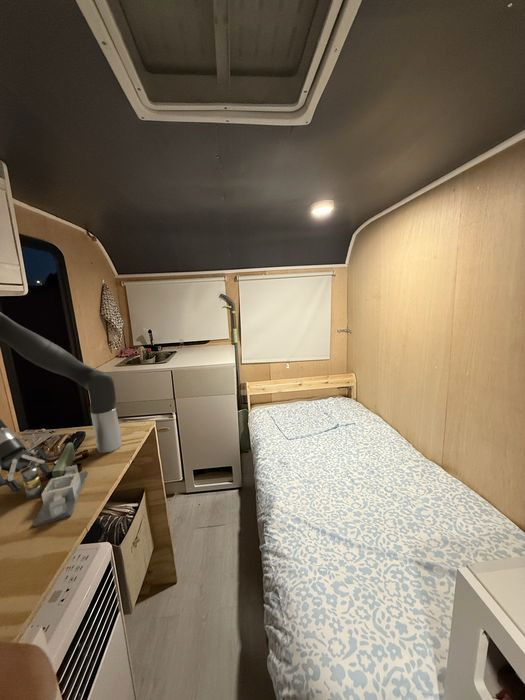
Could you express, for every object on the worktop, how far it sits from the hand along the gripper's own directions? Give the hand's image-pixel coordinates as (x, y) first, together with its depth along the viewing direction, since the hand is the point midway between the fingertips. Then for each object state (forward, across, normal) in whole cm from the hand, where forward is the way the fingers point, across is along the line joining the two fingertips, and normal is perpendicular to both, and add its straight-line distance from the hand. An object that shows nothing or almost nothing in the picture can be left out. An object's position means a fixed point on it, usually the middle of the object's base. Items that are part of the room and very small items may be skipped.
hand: (34, 482), depth 90 cm
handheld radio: (0, +14, +8) cm, 16 cm away
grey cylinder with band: (+3, 0, +4) cm, 5 cm away
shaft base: (+10, +2, -4) cm, 11 cm away
